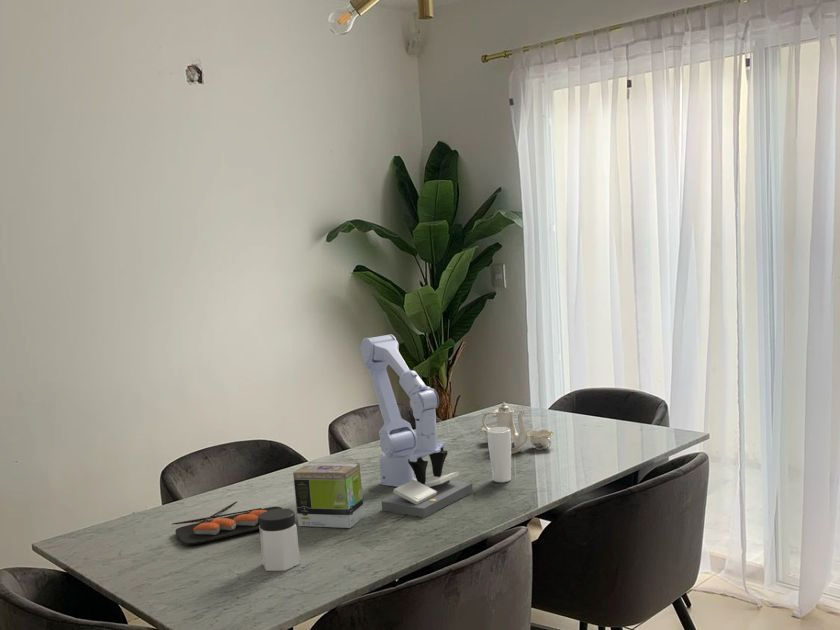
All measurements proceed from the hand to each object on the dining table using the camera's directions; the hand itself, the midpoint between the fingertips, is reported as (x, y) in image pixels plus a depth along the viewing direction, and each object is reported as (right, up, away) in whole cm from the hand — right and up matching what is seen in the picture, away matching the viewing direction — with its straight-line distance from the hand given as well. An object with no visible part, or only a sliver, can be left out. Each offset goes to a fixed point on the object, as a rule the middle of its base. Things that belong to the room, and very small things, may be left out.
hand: (429, 480), depth 243 cm
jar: (-35, -11, -43) cm, 57 cm away
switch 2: (+3, 0, -2) cm, 3 cm away
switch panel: (0, -5, -6) cm, 8 cm away
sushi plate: (-55, -10, -10) cm, 56 cm away
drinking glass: (+21, -2, +8) cm, 23 cm away
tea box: (-26, -8, -16) cm, 32 cm away
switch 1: (-4, -1, -11) cm, 11 cm away
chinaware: (+27, +2, +42) cm, 50 cm away
